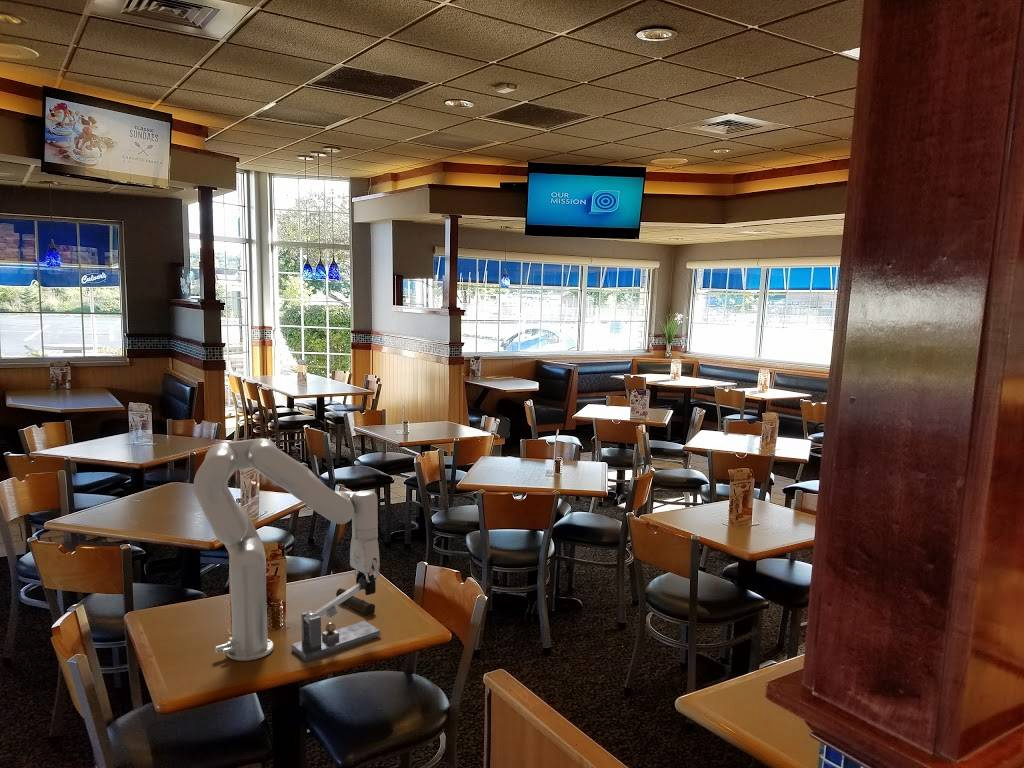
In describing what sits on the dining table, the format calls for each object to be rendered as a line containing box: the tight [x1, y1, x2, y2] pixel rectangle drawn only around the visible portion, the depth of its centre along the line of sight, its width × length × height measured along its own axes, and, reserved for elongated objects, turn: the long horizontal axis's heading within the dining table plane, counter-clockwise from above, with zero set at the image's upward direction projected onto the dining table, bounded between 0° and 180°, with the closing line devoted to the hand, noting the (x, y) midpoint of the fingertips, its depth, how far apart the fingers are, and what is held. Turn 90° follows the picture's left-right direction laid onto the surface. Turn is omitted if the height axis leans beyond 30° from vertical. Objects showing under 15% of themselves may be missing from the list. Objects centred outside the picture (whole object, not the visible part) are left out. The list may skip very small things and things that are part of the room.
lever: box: [304, 574, 371, 624], centre depth 215 cm, size 23×4×5 cm, turn 133°
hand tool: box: [335, 588, 376, 617], centre depth 241 cm, size 19×4×5 cm, turn 45°
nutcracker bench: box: [291, 610, 381, 663], centre depth 214 cm, size 24×9×11 cm, turn 132°
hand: (365, 590), depth 220 cm, fingers closed on lever, 4 cm apart
